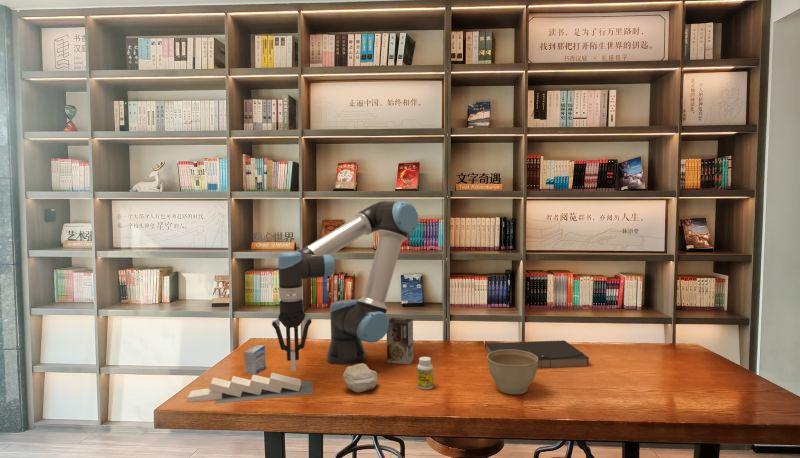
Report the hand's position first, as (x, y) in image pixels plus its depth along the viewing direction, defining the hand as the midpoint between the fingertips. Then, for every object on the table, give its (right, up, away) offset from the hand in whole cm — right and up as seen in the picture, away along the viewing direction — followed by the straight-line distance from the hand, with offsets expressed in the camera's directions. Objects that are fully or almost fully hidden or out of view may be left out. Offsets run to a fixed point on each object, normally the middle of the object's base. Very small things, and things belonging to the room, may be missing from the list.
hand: (293, 369), depth 157 cm
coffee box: (+35, -5, +26) cm, 44 cm away
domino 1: (-22, -6, -4) cm, 23 cm away
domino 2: (-16, -6, -3) cm, 17 cm away
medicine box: (-18, -6, +18) cm, 26 cm away
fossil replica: (+23, -7, 0) cm, 24 cm away
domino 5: (+2, -6, +1) cm, 6 cm away
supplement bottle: (+44, -6, +2) cm, 44 cm away
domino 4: (-4, -6, 0) cm, 7 cm away
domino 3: (-10, -6, -2) cm, 12 cm away
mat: (-9, -7, -1) cm, 11 cm away
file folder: (+88, -4, +29) cm, 92 cm away
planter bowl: (+72, -6, -1) cm, 72 cm away
